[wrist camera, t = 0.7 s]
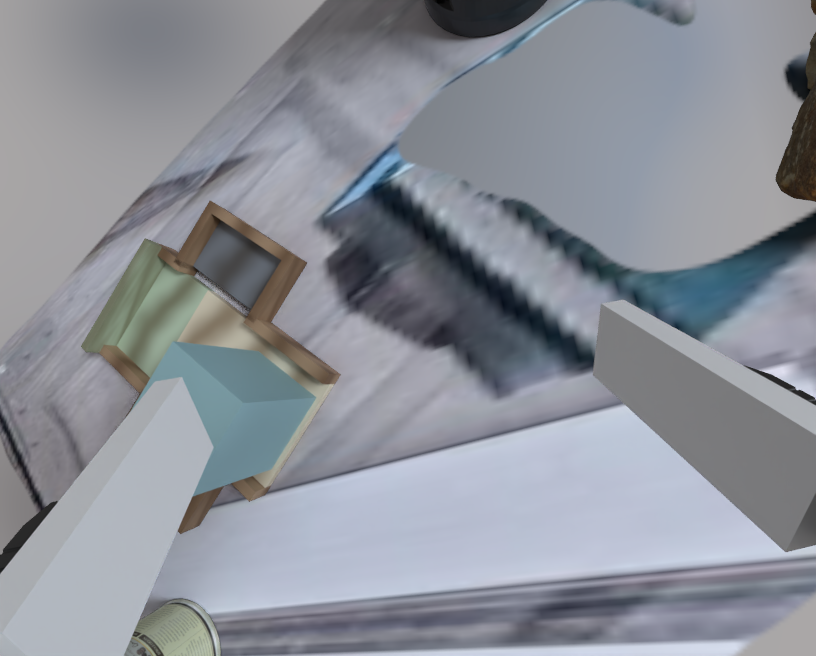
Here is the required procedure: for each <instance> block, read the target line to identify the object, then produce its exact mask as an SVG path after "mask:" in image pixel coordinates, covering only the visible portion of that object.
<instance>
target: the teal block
mask: <svg viewBox="0 0 816 656" xmlns="http://www.w3.org/2000/svg"><path fill="white" fill-rule="evenodd" d="M178 377H182V378H183V381H184V383H185V385H186V387H187V389H188V392H189V394H190V396H191V398H192V401H193V403H194V405H195V407H196V409H197V412H198V414H199V416H200V418H201V420H202V423H203V425H204V427H205V429H206V432H207V434H208V436H209V438H210V440H211V443H212V445H213V447H214V448H213V450H212V452H211V455H210V457H209V459H208V462H207V464H206V466H205V469H204V471H203V473H202V475H201V478H200V480H199V482H198V485H197V487H196V489H195V492H194V494H193V496H196V495H199V494H202V493H204V492H207V491H210V490H213V489H216V488H219V487H222V486H225V485H228V484H230V483H233V482H236V481H239V480H242V479H245V478H248V477H251V476H253V475H256V474H259V473H262V472H265V471H268V470H271V469H272V468H273V466H274V465H275V463H276V462H277V460H278V458H279V457H280V455H281V454H282V452H283V450H284V449H285V447H286V446H287V444H288V442H289V441H290V439H291V438H292V436H293V434H294V433H295V431H296V430H297V428H298V426H299V425H300V423H301V422H302V420H303V418H304V417H305V415H306V414H307V412H308V410H309V409H310V407H311V406H312V404H313V402H314V401H315V399H316V397H315V396H314V395H313V394H311V393H310V392H309V391H308V390H306V389H305V388H304V387H303V386H301V385H300V384H299V383H298V382H296V381H295V380H294V379H293V378H291V377H290V376H289V375H288V374H286V373H285V372H284V371H283V370H281V369H280V368H279V367H278V366H276V365H275V364H274V363H273V362H271V361H270V360H269V359H268V358H266V357H265V356H264V355H263V354H261V353H260V352H259V351H253V350H244V349H236V348H227V347H218V346H210V345H201V344H193V343H184V342H175V341H173V342H172V343H171V345H170V347H169V348H168V350H167V352H166V353H165V355H164V357H163V358H162V360H161V362H160V363H159V365H158V367H157V368H156V370H155V372H154V373H153V375H152V377H151V378H150V380H149V381H148V383H147V385H146V386H145V388H144V390H143V391H142V393H141V395H140V396H139V398H138V400H137V401H136V403H135V405H134V406H133V408H134V407H135V406H136V404H137V403H138V402H139V401H140V399H141V398H142V397H143V396H144V394H145V393H146V392H147V391H148V389H149V388H150V387H151V386H152V384H153V383H154V382H155V381H161V380H167V379H172V378H178ZM133 408H132V409H133ZM131 411H132V410H131ZM131 411H130V412H131ZM193 496H192V497H193Z"/></svg>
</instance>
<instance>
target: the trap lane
mask: <svg viewBox="0 0 816 656" xmlns="http://www.w3.org/2000/svg"><path fill="white" fill-rule="evenodd" d="M306 264H307V262H305V261H304V260H302V259H301V258H299V257H298V256H296V255H294V254H293V253H291V252H290V251H288V250H287V249H285V248H284V247H282V246H281V245H279V244H278V243H276V242H275V241H273V240H271V239H270V238H268V237H267V236H265V235H264V234H262V233H261V232H259V231H258V230H256V229H255V228H253V227H252V226H250V225H248V224H247V223H245V222H244V221H242V220H241V219H239V218H238V217H236V216H235V215H233V214H232V213H230V212H229V211H227V210H226V209H224V208H222V207H220V206H219V205H217V204H215V203H213V202H212V201H209V203H208V205H207V207H206V208H205V210H204V212H203V213H202V215H201V217H200V218H199V220H198V222H197V223H196V225H195V227H194V228H193V230H192V232H191V233H190V235H189V237H188V238H187V240H186V242H185V243H184V245H183V247H182V248H181V250H180V252H179V253H178V252H177V251H175V250H174V249H172V248H169V247H166V246H164V245H161V244H158V243H156V242H153V241H151V240H148V239H144V241H143V243H142V244H141V246H140V248H139V249H138V251H137V253H136V254H135V256H134V258H133V259H132V261H131V263H130V265H129V266H128V268H127V270H126V271H125V273H124V275H123V276H122V278H121V280H120V281H119V283H118V285H117V286H116V288H115V290H114V292H113V293H112V295H111V297H110V298H109V300H108V302H107V303H106V305H105V307H104V308H103V310H102V312H101V314H100V315H99V317H98V319H97V320H96V322H95V324H94V325H93V327H92V329H91V330H90V332H89V334H88V335H87V337H86V339H85V341H84V342H83V344H82V346H81V347H82V348H83V349H84V350H85V351H86V352H94V353H100V354H101V355H102V356H103V357H104V358H105V359H106V360H107V361H108V362H109V363H110V364H111V365H112V366H113V367H114V368H115V369H116V370H117V371H118V372H119V373H120V374H121V375H122V376H123V377H124V378H125V379H126V380H127V381H128V382H129V383H130V384H131V385H132V386H133V387H134V388H135V389H136V390H137V391H138V392H139V393H140V394H139V396H140V395H141V393H142V391H143V390H144V388H145V386H146V385H147V383H148V381H149V380H150V378H151V377H152V375H153V373H154V372H155V370H156V368H157V367H158V365H159V363H160V362H161V360H162V358H163V357H164V355H165V353H166V352H167V350H168V348H169V347H170V345H171V343H172V342H173V341H175V342H184V343H193V344H201V345H210V346H218V347H227V348H236V349H244V350H253V351H259V352H260V353H261V354H263V355H264V356H265V357H266V358H268V359H269V360H270V361H271V362H273V363H274V364H275V365H276V366H278V367H279V368H280V369H281V370H283V371H284V372H285V373H286V374H288V375H289V376H290V377H291V378H293V379H294V380H295V381H296V382H298V383H299V384H300V385H301V386H303V387H304V388H305V389H306V390H308V391H309V392H310V393H311V394H313V395H314V396H315V397H316V399H315V401H314V402H313V404H312V406H311V407H310V409H309V410H308V412H307V414H306V415H305V417H304V418H303V420H302V422H301V423H300V425H299V426H298V428H297V430H296V431H295V433H294V434H293V436H292V438H291V439H290V441H289V442H288V444H287V446H286V447H285V449H284V450H283V452H282V454H281V455H280V457H279V458H278V460H277V462H276V463H275V465H274V466H273V468H272V469H271V470H268V471H265V472H262V473H259V474H256V475H253V476H251V477H248V478H245V479H242V480H239V481H236V482H233V483H231V484H232V485H233V486H234V487H235V488H236V489H237V490H238V491H239V492H240V493H241V494H242V495H243V496H244V497H245V498H246V499H247V500H248V501H249V502H250V501H252V500H254V499H257V498H259V497H261V496H264V495H265V494H266V493H267V491H268V490H269V488H270V486H271V485H272V483H273V482H274V480H275V478H276V477H277V475H278V474H279V472H280V470H281V469H282V467H283V466H284V464H285V462H286V461H287V459H288V458H289V456H290V454H291V453H292V451H293V450H294V448H295V447H296V445H297V443H298V442H299V440H300V439H301V437H302V435H303V434H304V432H305V431H306V429H307V427H308V426H309V424H310V423H311V421H312V419H313V418H314V416H315V415H316V413H317V411H318V410H319V408H320V407H321V405H322V403H323V402H324V400H325V399H326V397H327V396H328V394H329V392H330V391H331V389H332V388H333V386H334V384H335V383H336V381H337V380H338V378H339V376H340V374H339V373H338V372H336V371H335V370H334V369H332V368H331V367H330V366H328V365H327V364H326V363H324V362H323V361H322V360H320V359H319V358H318V357H316V356H315V355H314V354H312V353H311V352H310V351H308V350H307V349H306V348H304V347H303V346H302V345H300V344H299V343H298V342H296V341H295V340H294V339H292V338H291V337H290V336H288V335H287V334H286V333H285V332H283V331H282V330H281V329H279V328H278V327H277V326H275V325H274V324H273V323H271V321H272V320H273V318H274V316H275V315H276V313H277V311H278V310H279V308H280V307H281V305H282V303H283V302H284V300H285V298H286V297H287V295H288V294H289V292H290V290H291V289H292V287H293V285H294V284H295V282H296V280H297V279H298V277H299V276H300V274H301V272H302V271H303V269H304V267H305V266H306ZM198 270H199V271H200V272H201V273H203V274H204V275H205V276H207V277H208V278H209V279H211V280H212V281H213V282H215V283H216V284H217V285H219V286H220V287H221V288H223V289H224V290H225V291H227V292H228V293H229V294H231V295H232V296H233V297H235V298H236V299H237V300H239V301H240V302H241V303H243V304H244V305H245V306H247V307H248V308H249V309H251V311H250V313H249V314H248V316H247V317H246V316H245V315H244V314H243V313H241V312H240V311H239V310H237V309H236V308H235V307H233V306H232V305H231V304H229V303H228V302H227V301H226V300H224V299H223V298H222V297H220V296H219V295H218V294H216V293H215V292H214V291H213V290H211V289H210V288H209V287H207V286H206V285H205V284H203V283H202V282H201V281H199V280H198V279H197V278H196V277H194V276H195V274H196V272H197V271H198ZM139 396H138V398H139ZM138 398H137V399H136V401H137V400H138ZM136 401H135V403H136ZM135 403H134V404H133V406H134V405H135ZM133 406H132V408H133ZM132 408H131V409H130V411H131V410H132ZM130 411H129V413H130ZM129 413H128V414H129ZM128 414H127V416H128ZM127 416H126V417H127ZM223 487H224V486H222V487H219V488H216V489H213V490H210V491H207V492H204V493H202V494H199V495H196V496H193V497H192V499H191V501H190V503H189V506H188V508H187V510H186V512H185V515H184V517H183V519H182V522H181V524H180V526H179V529H178V532H179V533H180V534H182V533H184V532H186V531H188V530H191V529H193V528H195V527H197V526H199V525H200V524H201V522H202V520H203V519H204V517H205V516H206V514H207V512H208V511H209V509H210V508H211V506H212V504H213V503H214V501H215V500H216V498H217V496H218V495H219V493H220V491H221V490H222V488H223Z"/></svg>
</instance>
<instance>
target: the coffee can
mask: <svg viewBox="0 0 816 656" xmlns="http://www.w3.org/2000/svg"><path fill="white" fill-rule="evenodd" d="M124 656H221V649H220V641H219V636H218V633H217V630H216V628H215V626H214V623H213V621H212V620H211V618H210V616H209V615H208V614H207V613H206V612H205V610H204V609H203V608H202V607H200V606H199V605H198V604H196V603H194V602H192V601H189V600H185V599H176V600H172V601H169V602H167V603H165V604H164V605H163V606H161V607H160V608H159V609H157V610H155V611H154V612H152V613H151V614H149V615H147V616H146V617H144V618H143V619H141V620H139V621H138V623H137V626H136V628H135V630H134V633H133V635H132V637H131V640H130V642H129V644H128V647H127V649H126V651H125V654H124Z"/></svg>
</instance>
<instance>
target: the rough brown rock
mask: <svg viewBox="0 0 816 656" xmlns="http://www.w3.org/2000/svg"><path fill="white" fill-rule="evenodd" d="M811 8H812V10H813V12H814V14H815V15H816V0H811ZM810 45H811V48H810V52H809V56H808V59H807V63H806V75H807V79H808V89H811V91H810V92H809V94H808V96H807V98H806V99H805V101H804V103H803V104H802V106H801V108H800V110H799V112H798V115H797V118H796V120H795V122H794V124H793V127H792V130H793V131H792V135H791V138H790V141H789V144H788V146H787V148H786V150H785V153H784V156H783V158H782V161H781V164H780V166H779V169H778V172H777V174H776V182H777V184H778V186H779V188H780V189H781V191H782V192H784V193H786V194H787V195H789V196H791V197H793V198H796V199H803V200H811V201H815V202H816V33H815V34H814V36H813V38H812V40H811V42H810Z"/></svg>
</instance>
